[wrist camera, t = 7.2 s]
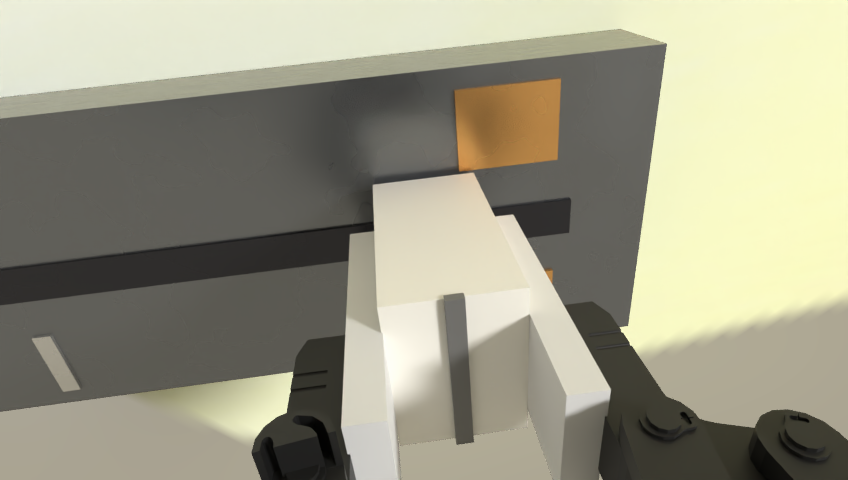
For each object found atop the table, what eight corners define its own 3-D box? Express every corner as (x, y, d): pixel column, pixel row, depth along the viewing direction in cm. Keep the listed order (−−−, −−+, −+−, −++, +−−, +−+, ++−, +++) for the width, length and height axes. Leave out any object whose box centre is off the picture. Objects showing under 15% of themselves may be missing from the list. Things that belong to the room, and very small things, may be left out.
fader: (372, 183, 15) (376, 309, 10) (473, 170, 15) (532, 289, 10) (389, 296, 17) (400, 452, 12) (478, 284, 17) (529, 434, 12)
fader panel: (-142, 113, 16) (-245, 147, 13) (620, 28, 17) (668, 43, 14) (14, 357, 21) (-38, 418, 18) (596, 281, 22) (629, 327, 19)
